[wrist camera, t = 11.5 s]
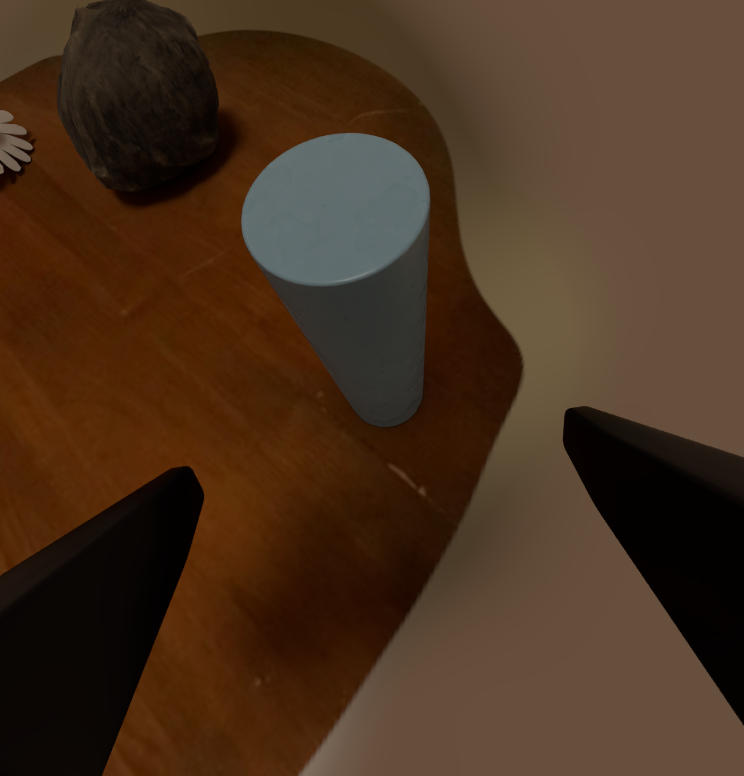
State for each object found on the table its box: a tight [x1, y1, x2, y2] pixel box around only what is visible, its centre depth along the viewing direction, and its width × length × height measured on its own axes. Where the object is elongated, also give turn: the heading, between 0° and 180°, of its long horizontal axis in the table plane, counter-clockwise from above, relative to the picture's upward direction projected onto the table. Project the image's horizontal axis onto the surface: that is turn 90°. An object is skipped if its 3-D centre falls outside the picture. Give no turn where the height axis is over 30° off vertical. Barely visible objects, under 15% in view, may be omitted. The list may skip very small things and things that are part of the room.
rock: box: [57, 0, 219, 193], centre depth 26 cm, size 10×11×10 cm
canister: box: [242, 133, 430, 427], centre depth 15 cm, size 4×4×14 cm
